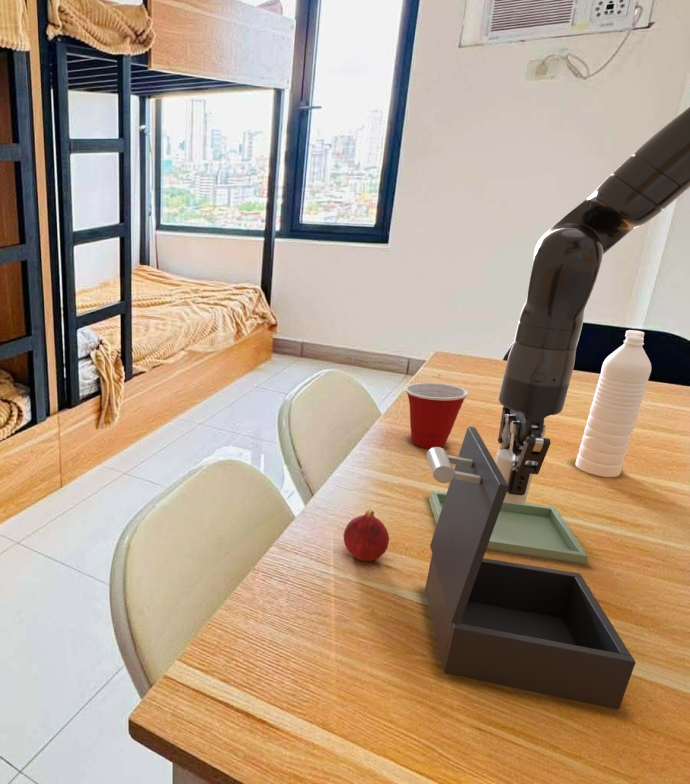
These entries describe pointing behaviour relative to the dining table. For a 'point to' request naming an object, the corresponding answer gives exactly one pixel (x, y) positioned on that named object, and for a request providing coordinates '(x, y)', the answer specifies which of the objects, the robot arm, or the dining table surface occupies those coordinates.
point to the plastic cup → (433, 412)
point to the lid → (464, 517)
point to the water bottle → (615, 408)
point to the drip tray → (528, 531)
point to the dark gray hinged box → (532, 634)
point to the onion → (366, 537)
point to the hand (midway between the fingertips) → (509, 484)
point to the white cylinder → (504, 466)
